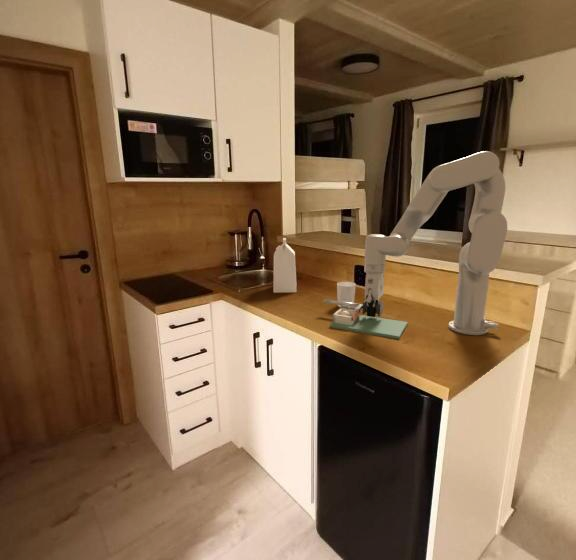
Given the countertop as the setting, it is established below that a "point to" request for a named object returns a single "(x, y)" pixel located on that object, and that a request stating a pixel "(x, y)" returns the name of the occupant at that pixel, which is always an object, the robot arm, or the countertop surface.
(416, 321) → the countertop surface
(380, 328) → the board
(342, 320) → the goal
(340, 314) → the ball
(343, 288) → the white cup
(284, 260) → the milk
